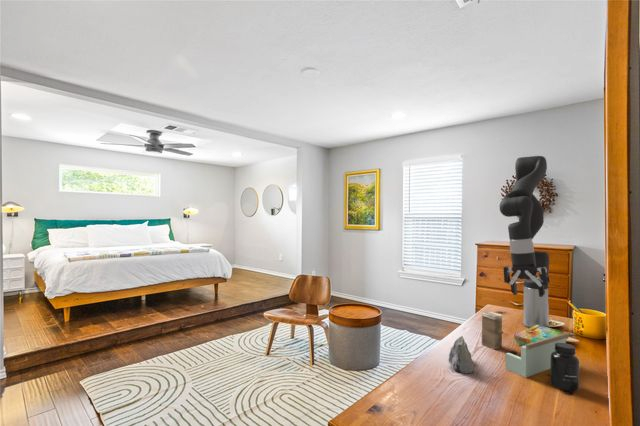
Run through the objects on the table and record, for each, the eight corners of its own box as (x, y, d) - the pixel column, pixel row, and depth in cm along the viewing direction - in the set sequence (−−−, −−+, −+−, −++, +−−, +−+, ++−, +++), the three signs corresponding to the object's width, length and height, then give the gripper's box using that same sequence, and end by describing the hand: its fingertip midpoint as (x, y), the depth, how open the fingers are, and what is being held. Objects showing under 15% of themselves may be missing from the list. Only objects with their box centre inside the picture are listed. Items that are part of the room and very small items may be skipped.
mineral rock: (457, 354, 120) (457, 326, 120) (488, 365, 112) (488, 335, 112) (437, 365, 112) (437, 334, 112) (468, 377, 104) (469, 344, 104)
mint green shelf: (540, 354, 121) (541, 325, 121) (568, 364, 113) (568, 333, 113) (501, 366, 111) (501, 335, 111) (528, 378, 103) (528, 345, 103)
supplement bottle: (571, 394, 94) (571, 351, 94) (545, 383, 100) (545, 343, 100) (584, 389, 97) (584, 347, 97) (558, 378, 103) (558, 339, 103)
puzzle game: (514, 332, 130) (536, 322, 141) (514, 345, 130) (536, 334, 142) (548, 342, 120) (569, 330, 132) (548, 355, 120) (569, 342, 132)
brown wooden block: (489, 342, 131) (489, 311, 131) (502, 347, 127) (502, 315, 127) (481, 344, 129) (481, 313, 129) (494, 349, 125) (494, 316, 125)
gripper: (547, 249, 121) (554, 294, 120) (505, 250, 132) (511, 291, 131) (540, 252, 116) (547, 299, 115) (497, 252, 127) (503, 296, 126)
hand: (528, 295), depth 123 cm, fingers open, 8 cm apart
